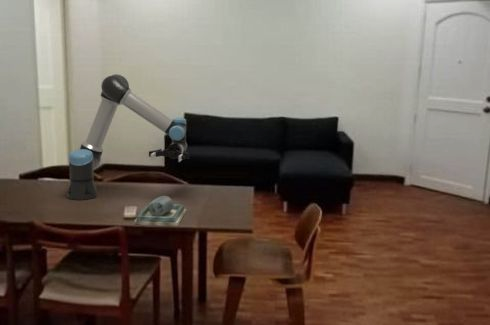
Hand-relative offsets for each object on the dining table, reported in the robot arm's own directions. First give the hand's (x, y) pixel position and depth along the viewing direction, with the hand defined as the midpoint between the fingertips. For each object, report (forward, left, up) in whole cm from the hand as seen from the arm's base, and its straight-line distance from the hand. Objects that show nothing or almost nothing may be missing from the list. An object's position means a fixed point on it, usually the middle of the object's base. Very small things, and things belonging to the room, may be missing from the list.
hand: (165, 158), depth 262 cm
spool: (+2, -19, -23) cm, 30 cm away
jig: (+2, -19, -24) cm, 31 cm away
